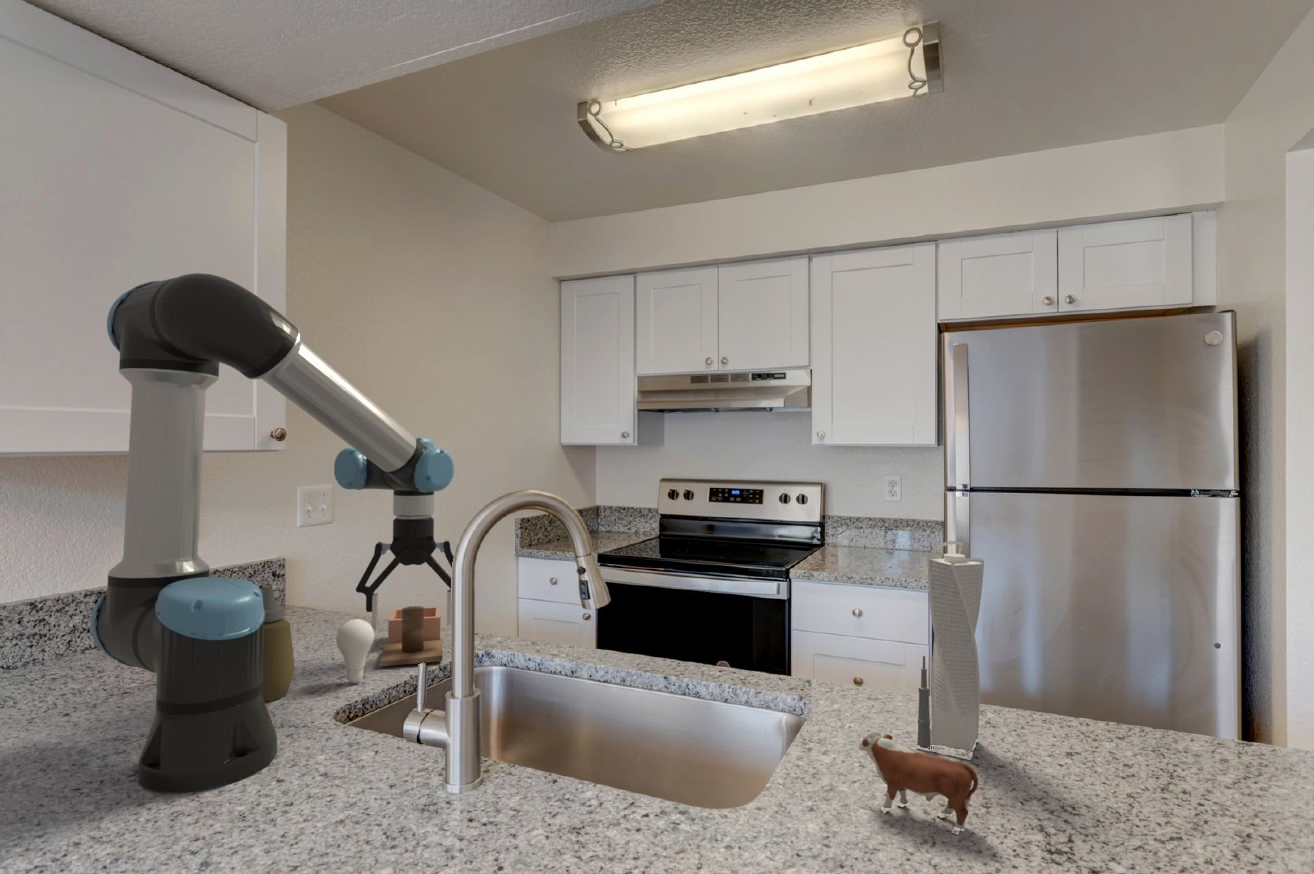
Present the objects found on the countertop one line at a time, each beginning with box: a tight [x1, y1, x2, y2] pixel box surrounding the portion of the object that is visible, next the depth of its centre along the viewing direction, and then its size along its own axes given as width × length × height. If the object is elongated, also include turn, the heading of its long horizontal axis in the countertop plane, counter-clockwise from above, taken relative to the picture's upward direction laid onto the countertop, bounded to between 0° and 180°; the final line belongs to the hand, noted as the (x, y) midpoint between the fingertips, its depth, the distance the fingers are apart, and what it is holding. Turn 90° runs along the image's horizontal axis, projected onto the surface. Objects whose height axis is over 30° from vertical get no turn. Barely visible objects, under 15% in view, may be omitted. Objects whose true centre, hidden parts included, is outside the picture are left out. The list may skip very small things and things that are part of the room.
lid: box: [379, 605, 444, 667], centre depth 135 cm, size 11×11×9 cm
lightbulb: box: [335, 618, 375, 684], centre depth 121 cm, size 6×6×11 cm
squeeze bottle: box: [262, 586, 296, 702], centre depth 114 cm, size 8×8×18 cm
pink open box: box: [387, 606, 442, 644], centre depth 146 cm, size 10×10×6 cm
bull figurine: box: [859, 729, 979, 830], centre depth 79 cm, size 4×13×8 cm, turn 51°
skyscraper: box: [916, 540, 985, 752], centre depth 97 cm, size 8×8×28 cm
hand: (412, 626), depth 135 cm, fingers open, 13 cm apart
